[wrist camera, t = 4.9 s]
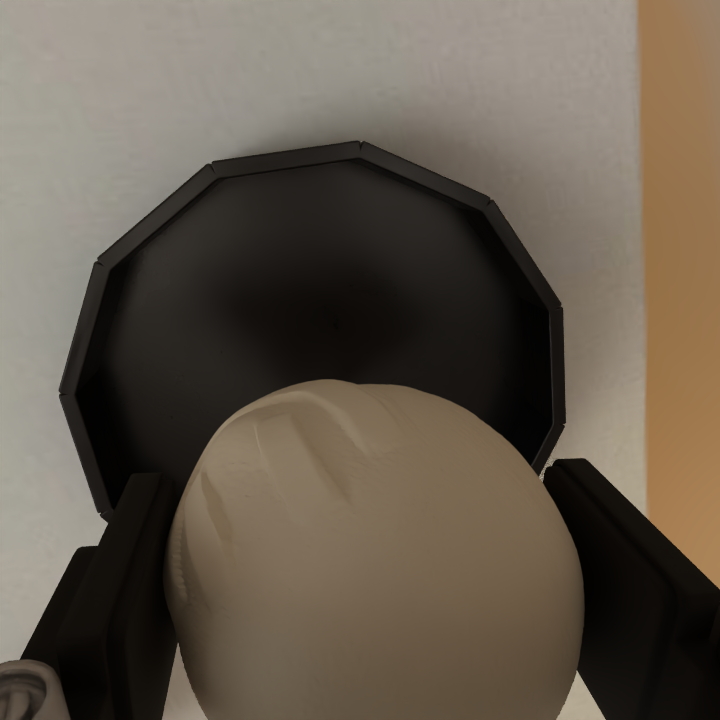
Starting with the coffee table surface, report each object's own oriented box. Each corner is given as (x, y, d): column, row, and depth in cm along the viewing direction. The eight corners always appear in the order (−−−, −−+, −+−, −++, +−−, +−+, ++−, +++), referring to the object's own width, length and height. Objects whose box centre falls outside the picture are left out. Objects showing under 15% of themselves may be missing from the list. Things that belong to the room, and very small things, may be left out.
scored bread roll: (361, 258, 12) (455, 374, 6) (545, 484, 14) (753, 740, 8) (122, 460, 13) (-34, 761, 6) (336, 641, 15) (377, 986, 9)
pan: (27, 190, 18) (-10, 192, 15) (524, 118, 19) (558, 111, 17) (209, 768, 26) (202, 828, 24) (548, 689, 27) (574, 738, 25)
